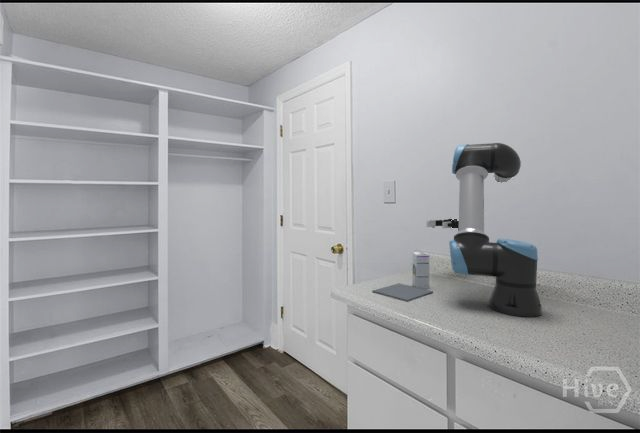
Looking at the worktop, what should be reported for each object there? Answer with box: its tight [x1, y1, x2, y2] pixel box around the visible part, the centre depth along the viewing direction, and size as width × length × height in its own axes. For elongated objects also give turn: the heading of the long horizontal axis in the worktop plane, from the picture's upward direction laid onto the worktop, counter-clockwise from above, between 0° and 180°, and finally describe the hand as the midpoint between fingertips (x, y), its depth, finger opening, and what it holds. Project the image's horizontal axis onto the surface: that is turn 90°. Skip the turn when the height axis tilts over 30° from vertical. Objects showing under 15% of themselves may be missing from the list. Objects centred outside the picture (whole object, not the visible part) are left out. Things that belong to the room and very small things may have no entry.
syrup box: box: [412, 251, 430, 290], centre depth 136 cm, size 6×6×14 cm
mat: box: [372, 283, 434, 303], centre depth 128 cm, size 18×16×1 cm
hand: (435, 224), depth 142 cm, fingers open, 7 cm apart
